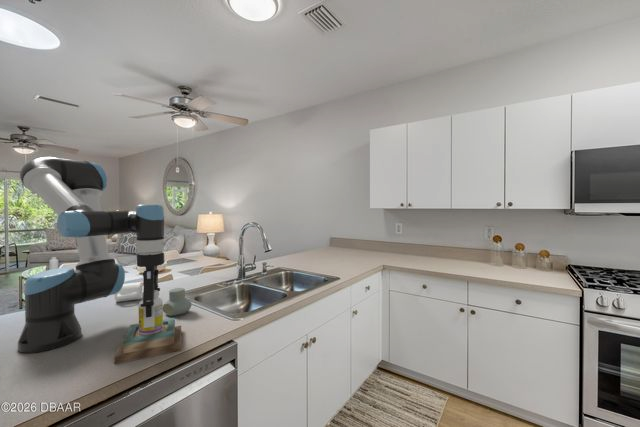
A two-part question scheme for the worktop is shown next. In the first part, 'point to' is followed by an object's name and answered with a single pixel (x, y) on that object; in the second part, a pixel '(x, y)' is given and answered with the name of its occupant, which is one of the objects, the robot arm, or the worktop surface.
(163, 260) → the robot arm
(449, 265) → the worktop surface
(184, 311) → the green pipe tee
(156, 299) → the supplement bottle
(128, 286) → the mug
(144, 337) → the display stand
